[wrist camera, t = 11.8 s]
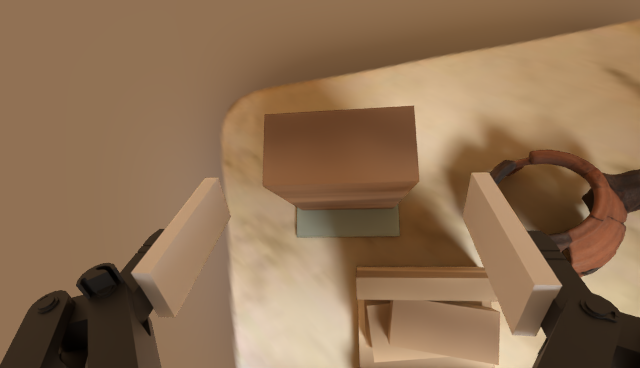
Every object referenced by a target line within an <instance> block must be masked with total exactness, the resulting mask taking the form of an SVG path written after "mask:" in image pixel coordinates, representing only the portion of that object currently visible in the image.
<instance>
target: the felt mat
mask: <svg viewBox="0 0 640 368" xmlns="http://www.w3.org/2000/svg"><path fill="white" fill-rule="evenodd" d="M368 236H400V227H399V210H398V204H397V205H396V206H395V207H394V208H393V209H350V210H301V209H300V208H298V207H297V237H368Z"/></svg>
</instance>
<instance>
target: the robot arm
mask: <svg viewBox="0 0 640 368" xmlns="http://www.w3.org/2000/svg"><path fill="white" fill-rule="evenodd" d="M230 217H231V216H230V213H229V209H228V206H227V203H226V200H225V197H224V194H223V191H222V188H221V185H220V182H219V178H205V179H204V180H203V181H202V182H201V184H200V185H199V186H198V188H197V189H196V190H195V191H194V193H193V194H192V195H191V196H190V198H189V199H188V200H187V202H186V203H185V204H184V205H183V207H182V208H181V209H180V211H179V212H178V213H177V215H176V216H175V217H174V218H173V220H172V221H171V222H170V223H169V225H168V226H167V227H166V229H159V230H158V231H157V232H155V233H154V234H153V235H151V236H150V237H149V238H148V239H147V241H146V242H145V243H144V244H143V246H142V247H141V248H140V249H139V250H138V253H136V254H135V256H134V257H133V258H132V259H131V260H130V261H129V263H128V264H127V265H126V266H125V268H124V269H123V270H122V271H121V273H119V271H118V270H117V268H116V267H115V265H114V264H111V263H103V264H100V265H97V266H95V267H93V268H91V269H89V270H88V271H86V272H85V273H84V274H82V276H81V277H80V278H79V280H78V281H77V284H76V286H77V287H78V288H79V290H80V291H81V292H82V293H83V295H81V296H77V297H73V298H71V297H70V296H69V294H68V293H67V292H66V291H62V290H60V291H54V292H52V293H49V294H47V295H45V296H43V297H42V298H40V299H39V300H37V301H36V302H35V303H34V304H33V305H32V306H31V307H30V309H29V310H28V312H27V314H26V316H25V318H24V319H23V322H22V323H21V325H20V328H19V329H18V331H17V333H16V335H15V337H14V339H13V341H12V343H11V345H10V347H9V349H8V351H7V353H6V355H5V357H4V359H3V361H2V363H1V364H0V368H161V364H160V359H159V354H158V350H157V345H156V341H155V336H154V331H153V327H152V322H151V320H150V318H149V314H150V313H151V311H152V310H153V309H154V310H155V312H156V313H157V315H158V316H159V317H172V318H175V317H176V316H177V314H178V312H179V310H180V308H181V306H182V305H183V303H184V301H185V299H186V297H187V295H188V294H189V292H190V290H191V288H192V286H193V285H194V283H195V281H196V279H197V277H198V275H199V274H200V272H201V270H202V268H203V266H204V264H205V263H206V261H207V259H208V257H209V255H210V253H211V252H212V250H213V248H214V246H215V244H216V242H217V241H218V239H219V237H220V235H221V233H222V231H223V230H224V228H225V226H226V224H227V222H228V221H229V219H230ZM463 219H464V221H465V224H466V226H467V228H468V231H469V233H470V235H471V238H472V240H473V242H474V245H475V247H476V250H477V252H478V254H479V257H480V259H481V261H482V264H483V266H484V268H485V271H486V273H487V276H488V278H489V280H490V283H491V285H492V287H493V290H494V292H495V295H496V297H497V299H498V302H499V304H500V306H501V309H502V311H503V313H504V316H505V318H506V321H507V323H508V325H509V328H510V330H511V332H512V335H523V336H536V335H537V333H538V331H539V329H540V327H542V329H543V331H544V333H545V335H546V337H547V338H546V340H545V342H544V343H543V345H542V347H541V349H540V351H539V352H538V356H537V359H536V361H535V363H534V365H533V367H532V368H640V318H639V317H635V316H632V315H628V314H625V313H622V312H620V311H619V310H618V308H616V307H615V306H614V305H613V304H612V303H611V302H610V301H608V300H606V299H604V298H603V297H601V296H599V295H596V294H593V293H591V292H590V290H589V289H588V287H587V286H586V285H585V283H584V282H583V281H582V279H581V278H580V276H579V275H578V274H577V272H576V271H575V270H574V268H573V267H572V265H571V264H570V263H569V261H567V260H566V257H565V256H564V254H563V253H562V252H560V249H559V248H558V246H557V245H556V244H555V242H554V241H553V240H552V239H551V238H550V237H548V236H547V235H546V234H544V233H543V232H542V231H526V229H525V228H524V226H523V225H522V223H521V222H520V220H519V219H518V217H517V216H516V214H515V212H514V211H513V209H512V208H511V206H510V205H509V203H508V202H507V200H506V199H505V197H504V196H503V194H502V192H501V191H500V189H499V188H498V186H497V185H496V183H495V182H494V180H493V179H492V177H491V176H490V174H489V172H479V173H471V178H470V183H469V188H468V192H467V197H466V202H465V207H464V212H463Z"/></svg>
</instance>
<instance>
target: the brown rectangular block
mask: <svg viewBox="0 0 640 368" xmlns="http://www.w3.org/2000/svg"><path fill="white" fill-rule="evenodd" d="M418 182H419V169H418V155H417V141H416V127H415V113H414V106H401V107H384V108H367V109H350V110H334V111H317V112H300V113H283V114H266V115H265V122H264V156H263V186H264V187H265V188H267V189H269V190H270V191H272V192H274V193H275V194H277V195H278V196H280V197H282V198H283V199H285V200H287V201H288V202H290V203H291V204H293V205H295V206H296V207H298V208H300V209H301V210H350V209H393V208H394V207H395V206H396V205H397V204H398V203H399V202H400V201H401V200H402V199H403V198H404V197H405V195H406V194H407V193H408V192H409V191H410V190H411V189H412V188H413V187H414V186H415V185H416V184H417V183H418Z"/></svg>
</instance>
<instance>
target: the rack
mask: <svg viewBox="0 0 640 368" xmlns="http://www.w3.org/2000/svg"><path fill="white" fill-rule="evenodd" d="M356 295H357V299H358V324H359V358H360V368H495V367H494V364H495V365H499V332H500V312H498V311H496V310H494V309H492V307H491V301H498V299H497V297H496V295H495V292H494V290H493V287H492V285H491V283H490V280H489V278H488V276H487V273H486V271H485V268H483V267H357V271H356Z"/></svg>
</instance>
